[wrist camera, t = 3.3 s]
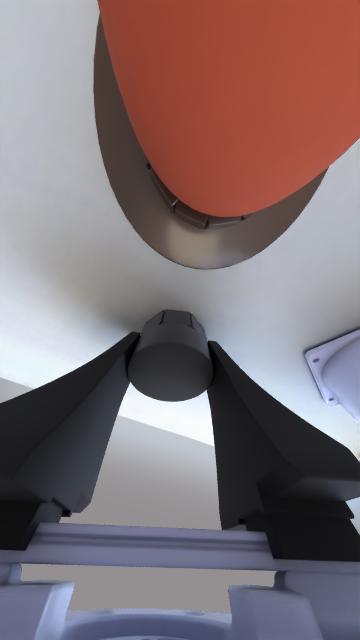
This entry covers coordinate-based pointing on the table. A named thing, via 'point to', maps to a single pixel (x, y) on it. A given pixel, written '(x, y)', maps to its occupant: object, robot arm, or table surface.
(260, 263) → the table surface
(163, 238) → the ball stand
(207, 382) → the cap
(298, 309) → the table surface
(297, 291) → the table surface
